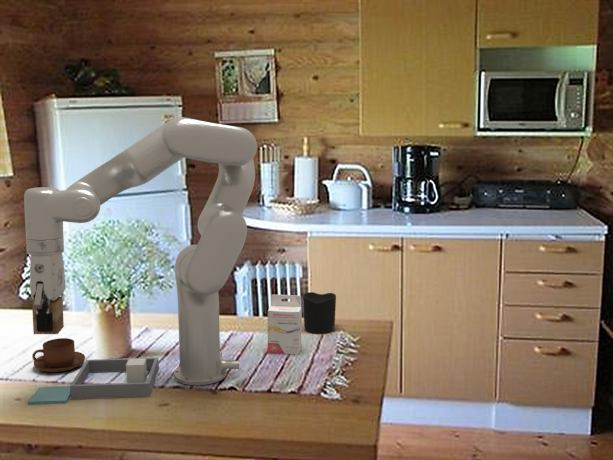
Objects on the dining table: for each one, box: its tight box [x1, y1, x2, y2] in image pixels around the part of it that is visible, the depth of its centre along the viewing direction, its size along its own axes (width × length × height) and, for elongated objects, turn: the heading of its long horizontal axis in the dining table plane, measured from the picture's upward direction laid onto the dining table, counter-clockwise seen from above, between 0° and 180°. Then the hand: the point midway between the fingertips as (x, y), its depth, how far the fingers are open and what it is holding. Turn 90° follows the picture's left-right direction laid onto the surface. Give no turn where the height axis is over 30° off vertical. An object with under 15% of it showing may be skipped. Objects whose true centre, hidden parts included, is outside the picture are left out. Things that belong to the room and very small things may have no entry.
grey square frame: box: [69, 357, 160, 400], centre depth 160 cm, size 17×16×3 cm
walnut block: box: [31, 296, 65, 335], centre depth 150 cm, size 5×5×7 cm
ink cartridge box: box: [267, 294, 303, 355], centre depth 180 cm, size 9×5×15 cm, turn 84°
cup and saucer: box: [31, 337, 86, 373], centre depth 170 cm, size 12×12×6 cm
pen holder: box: [302, 291, 337, 335], centre depth 198 cm, size 9×9×10 cm
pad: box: [28, 385, 71, 405], centre depth 153 cm, size 8×8×1 cm
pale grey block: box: [125, 359, 148, 383], centre depth 161 cm, size 4×4×5 cm
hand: (48, 326), depth 151 cm, fingers closed on walnut block, 5 cm apart
